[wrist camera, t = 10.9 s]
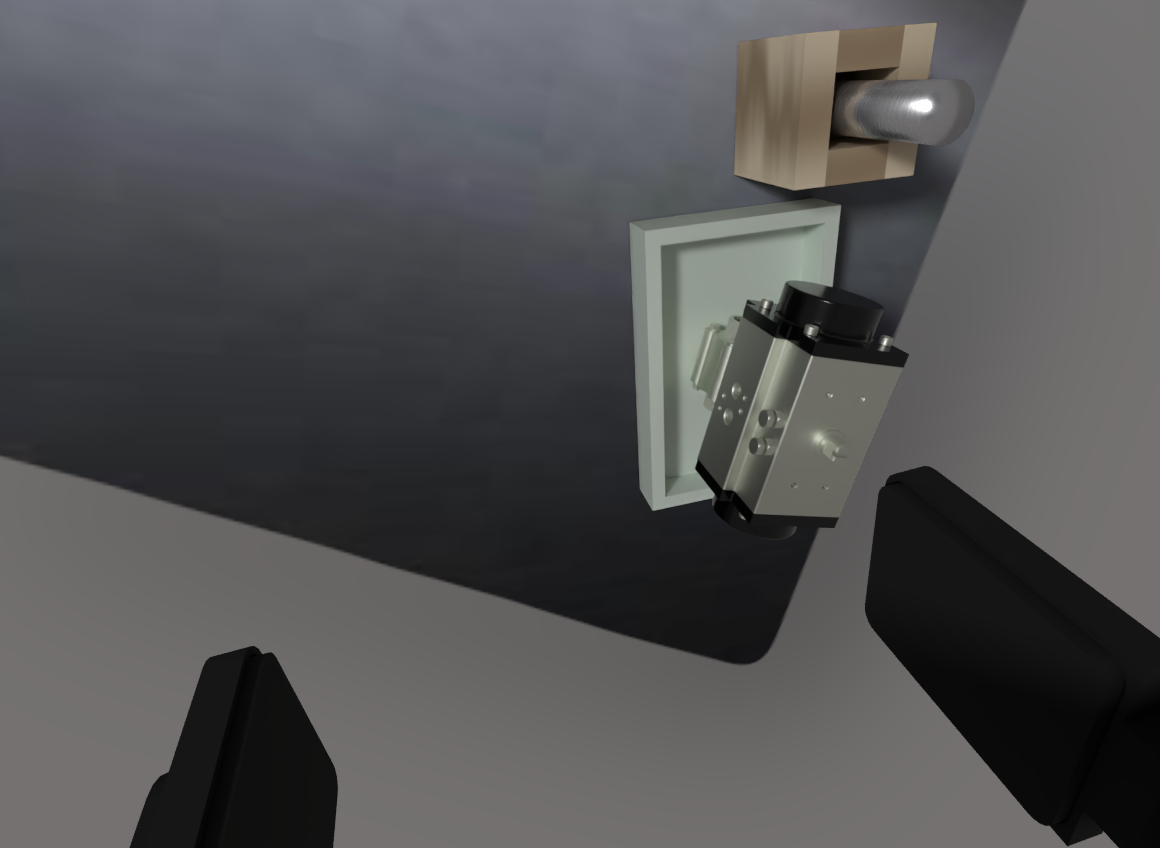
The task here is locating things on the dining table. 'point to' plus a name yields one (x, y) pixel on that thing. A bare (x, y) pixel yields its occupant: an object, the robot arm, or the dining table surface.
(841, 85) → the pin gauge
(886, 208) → the dining table surface
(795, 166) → the bore block
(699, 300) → the tray
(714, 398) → the pneumatic valve
